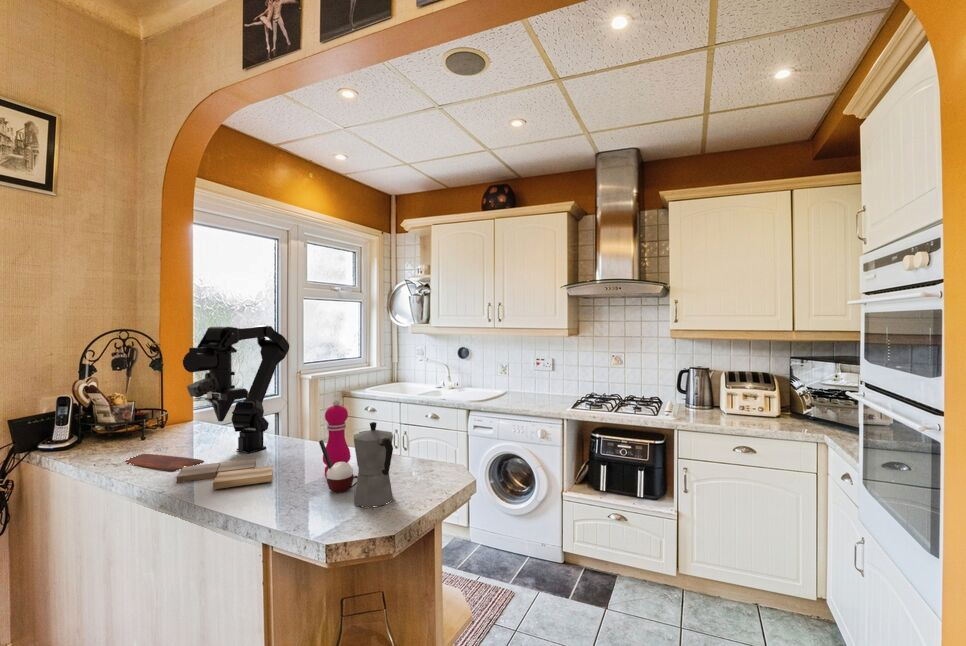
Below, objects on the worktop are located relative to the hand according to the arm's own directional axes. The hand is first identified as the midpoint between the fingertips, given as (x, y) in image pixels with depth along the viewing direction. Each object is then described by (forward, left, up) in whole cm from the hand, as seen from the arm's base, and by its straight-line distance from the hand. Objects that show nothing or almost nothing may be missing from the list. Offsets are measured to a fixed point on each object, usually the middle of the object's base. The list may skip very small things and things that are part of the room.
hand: (220, 421), depth 131 cm
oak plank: (+6, +22, -12) cm, 26 cm away
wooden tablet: (+9, -16, -13) cm, 23 cm away
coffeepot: (-1, +61, -12) cm, 62 cm away
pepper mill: (-10, +38, -12) cm, 41 cm away
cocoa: (-2, +48, -12) cm, 50 cm away
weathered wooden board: (+6, +9, -12) cm, 16 cm away
